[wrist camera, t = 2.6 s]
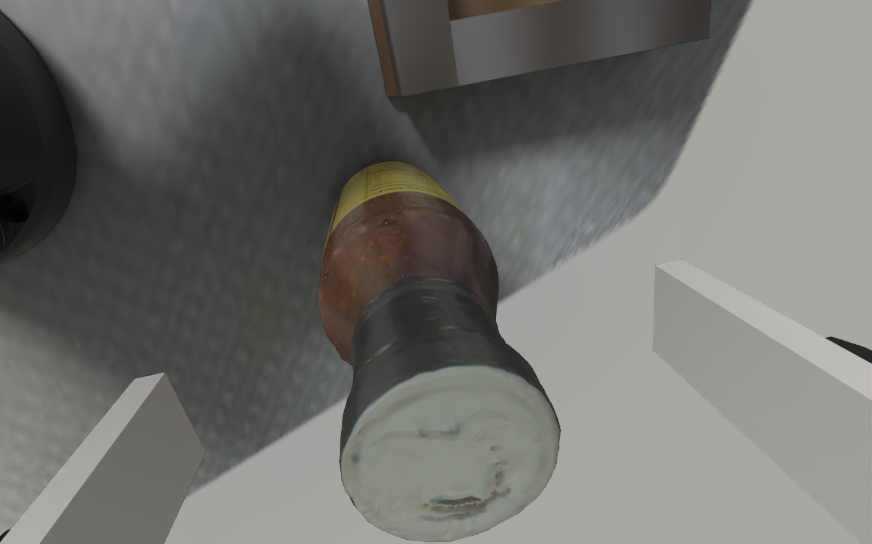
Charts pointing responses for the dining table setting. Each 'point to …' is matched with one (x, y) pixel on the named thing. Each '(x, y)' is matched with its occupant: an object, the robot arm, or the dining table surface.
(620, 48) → the stand
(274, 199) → the dining table surface
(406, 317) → the sauce bottle
